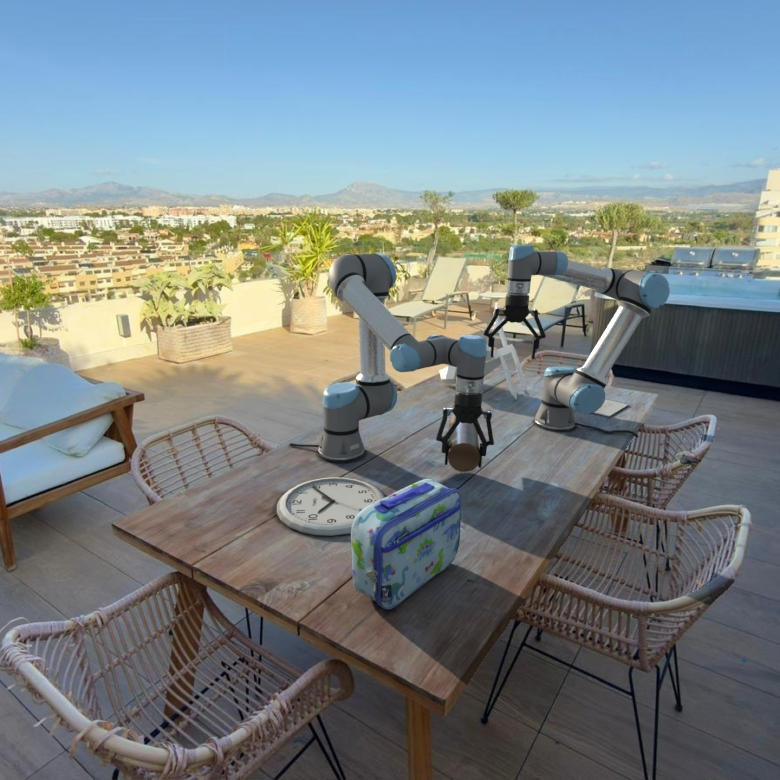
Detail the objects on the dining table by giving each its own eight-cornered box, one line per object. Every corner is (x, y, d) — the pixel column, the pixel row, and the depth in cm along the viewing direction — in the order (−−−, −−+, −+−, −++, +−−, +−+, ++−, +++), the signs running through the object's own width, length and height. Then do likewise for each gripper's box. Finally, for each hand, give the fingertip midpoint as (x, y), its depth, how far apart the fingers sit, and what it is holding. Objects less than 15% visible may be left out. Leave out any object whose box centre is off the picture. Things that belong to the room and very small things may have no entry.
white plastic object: (461, 429, 252) (437, 405, 227) (444, 352, 274) (420, 323, 250) (535, 404, 240) (518, 377, 215) (510, 326, 262) (492, 293, 237)
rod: (448, 434, 175) (450, 409, 172) (475, 436, 174) (477, 411, 171) (447, 470, 149) (449, 441, 147) (478, 473, 149) (481, 444, 146)
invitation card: (608, 416, 214) (573, 407, 224) (608, 416, 214) (573, 408, 224) (628, 404, 229) (594, 396, 238) (628, 405, 229) (594, 397, 238)
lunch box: (380, 623, 100) (381, 528, 94) (344, 596, 108) (343, 505, 101) (464, 565, 118) (470, 482, 112) (428, 545, 125) (432, 466, 119)
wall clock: (392, 527, 129) (268, 531, 127) (391, 533, 130) (269, 537, 127) (383, 473, 158) (282, 475, 155) (383, 478, 158) (282, 480, 156)
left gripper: (429, 392, 143) (424, 466, 150) (509, 398, 141) (501, 473, 148) (430, 384, 150) (426, 455, 157) (507, 389, 148) (499, 461, 155)
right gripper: (479, 294, 168) (475, 358, 174) (559, 296, 165) (551, 361, 172) (478, 291, 175) (474, 353, 181) (554, 293, 172) (548, 356, 179)
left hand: (462, 464), depth 153 cm, fingers closed on rod, 9 cm apart
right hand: (512, 357), depth 177 cm, fingers open, 13 cm apart
